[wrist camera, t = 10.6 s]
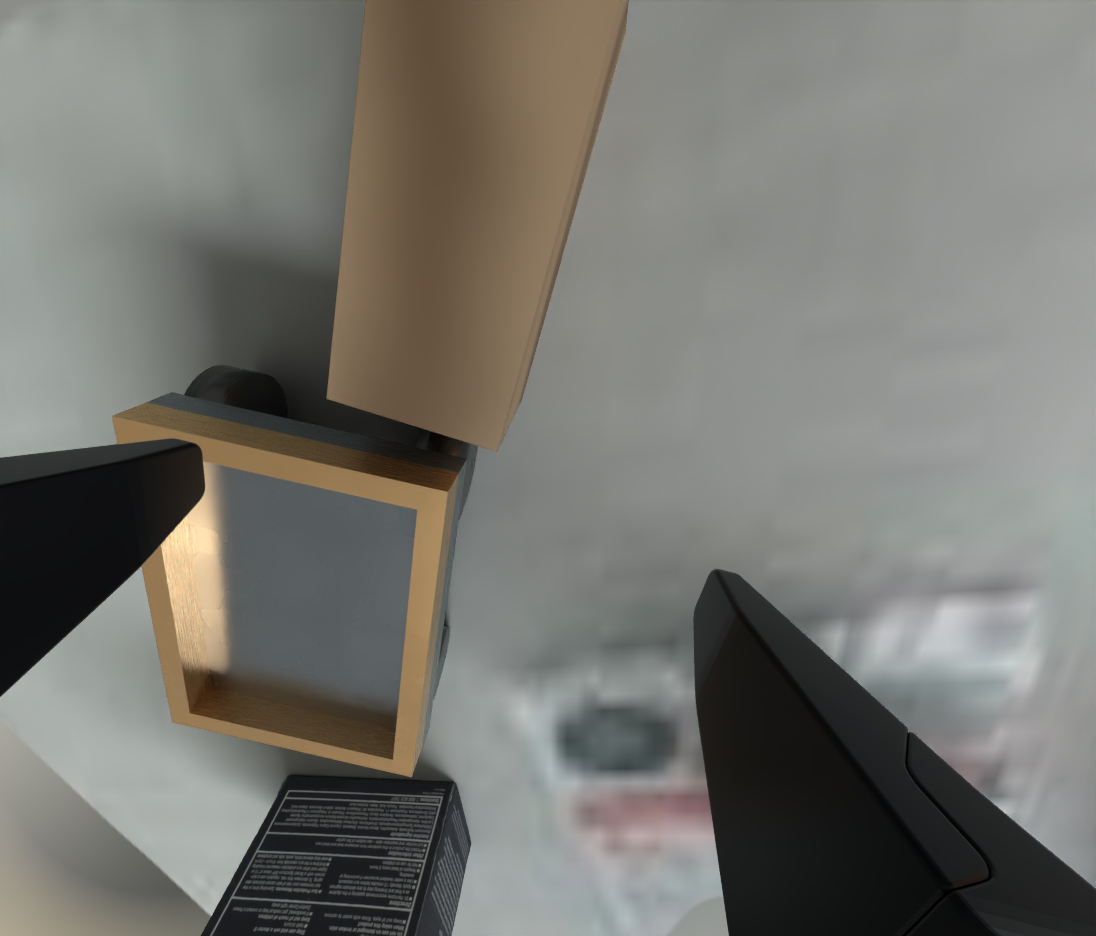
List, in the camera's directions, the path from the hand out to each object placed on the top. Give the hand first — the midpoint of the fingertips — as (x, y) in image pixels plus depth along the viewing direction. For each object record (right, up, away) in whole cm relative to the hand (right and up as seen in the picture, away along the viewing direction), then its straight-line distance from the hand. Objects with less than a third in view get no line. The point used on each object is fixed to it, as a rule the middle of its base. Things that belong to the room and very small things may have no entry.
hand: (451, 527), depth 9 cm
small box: (-8, -20, +23) cm, 31 cm away
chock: (0, +9, +8) cm, 12 cm away
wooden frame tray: (-6, -2, +13) cm, 15 cm away
